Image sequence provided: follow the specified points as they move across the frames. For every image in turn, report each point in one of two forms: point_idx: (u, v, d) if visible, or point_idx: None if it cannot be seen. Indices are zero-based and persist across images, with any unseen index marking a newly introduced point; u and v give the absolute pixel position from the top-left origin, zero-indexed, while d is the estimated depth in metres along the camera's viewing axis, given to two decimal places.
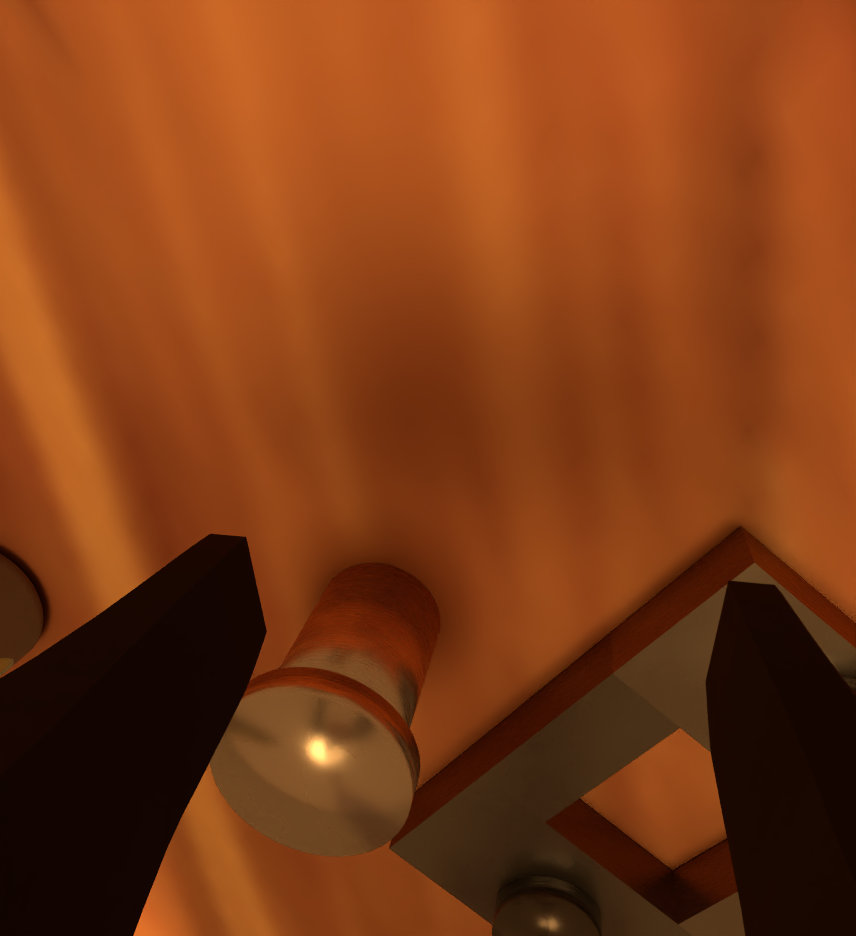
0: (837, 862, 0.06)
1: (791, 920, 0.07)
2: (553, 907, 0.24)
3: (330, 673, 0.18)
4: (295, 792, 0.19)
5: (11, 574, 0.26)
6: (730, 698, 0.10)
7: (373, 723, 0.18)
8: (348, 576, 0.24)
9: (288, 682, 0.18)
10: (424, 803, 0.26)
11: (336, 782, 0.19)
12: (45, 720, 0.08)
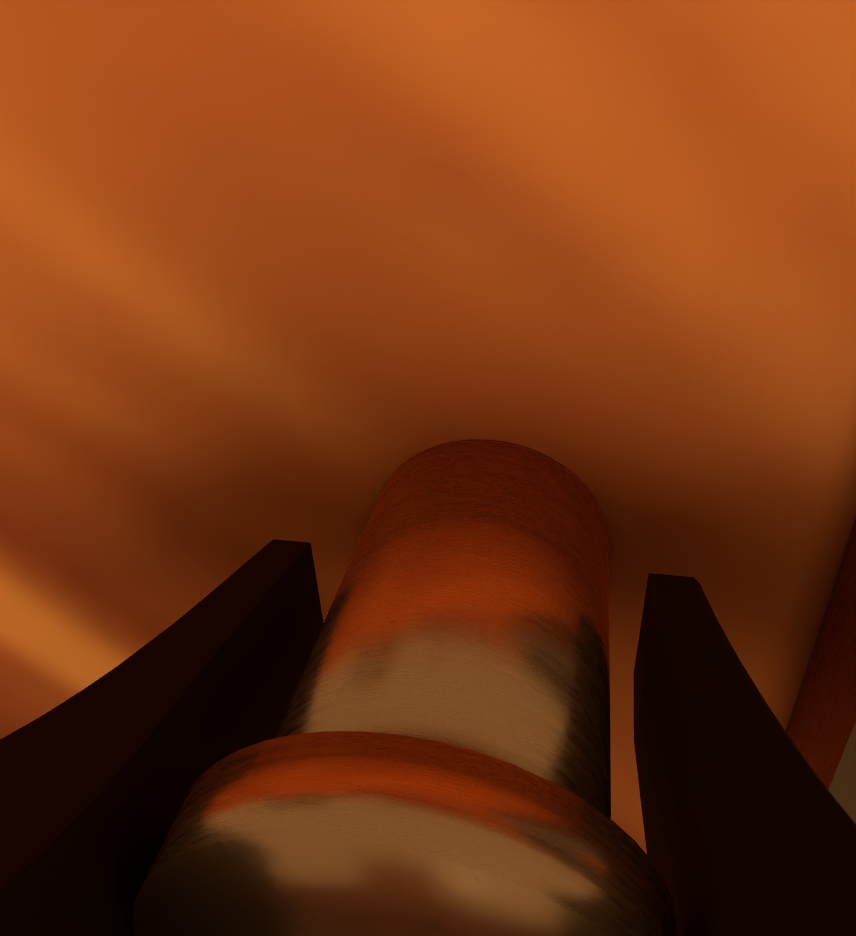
0: (706, 842, 0.07)
1: (679, 901, 0.08)
2: None
3: (266, 746, 0.07)
4: None
5: None
6: (646, 688, 0.10)
7: (393, 832, 0.06)
8: (372, 510, 0.12)
9: (183, 822, 0.07)
10: None
11: None
12: (135, 733, 0.08)
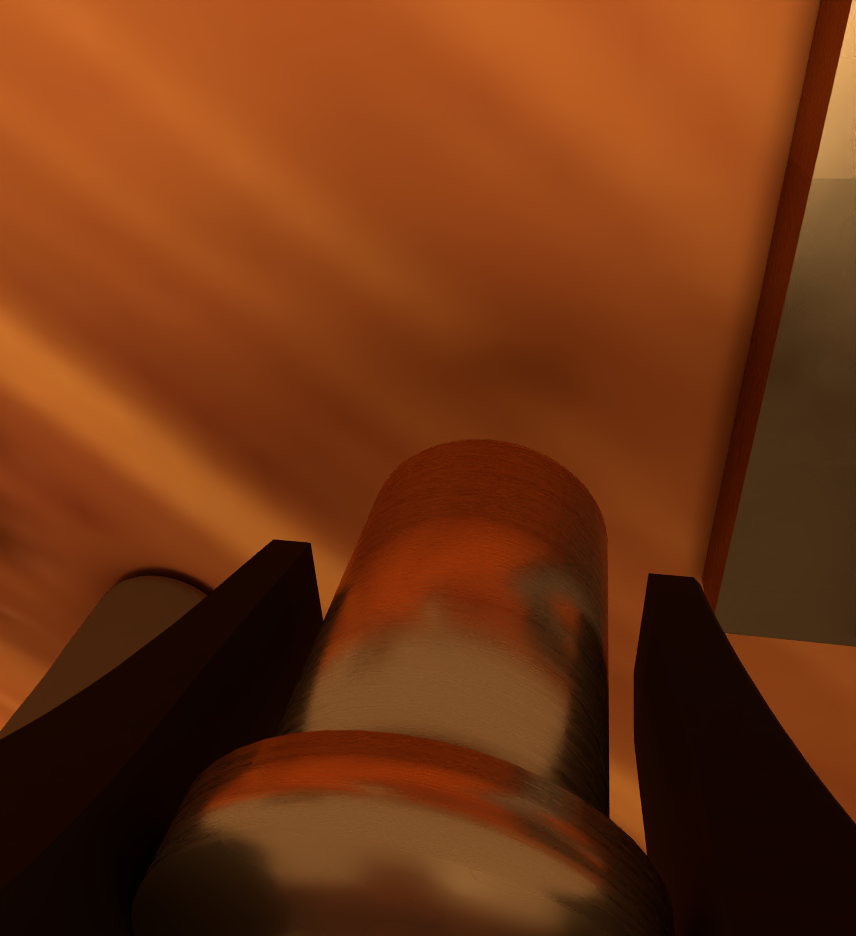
0: (706, 842, 0.07)
1: (679, 901, 0.08)
2: None
3: (264, 745, 0.07)
4: None
5: (163, 585, 0.24)
6: (646, 688, 0.10)
7: (391, 831, 0.06)
8: (371, 510, 0.12)
9: (182, 822, 0.07)
10: (717, 555, 0.19)
11: None
12: (136, 733, 0.08)
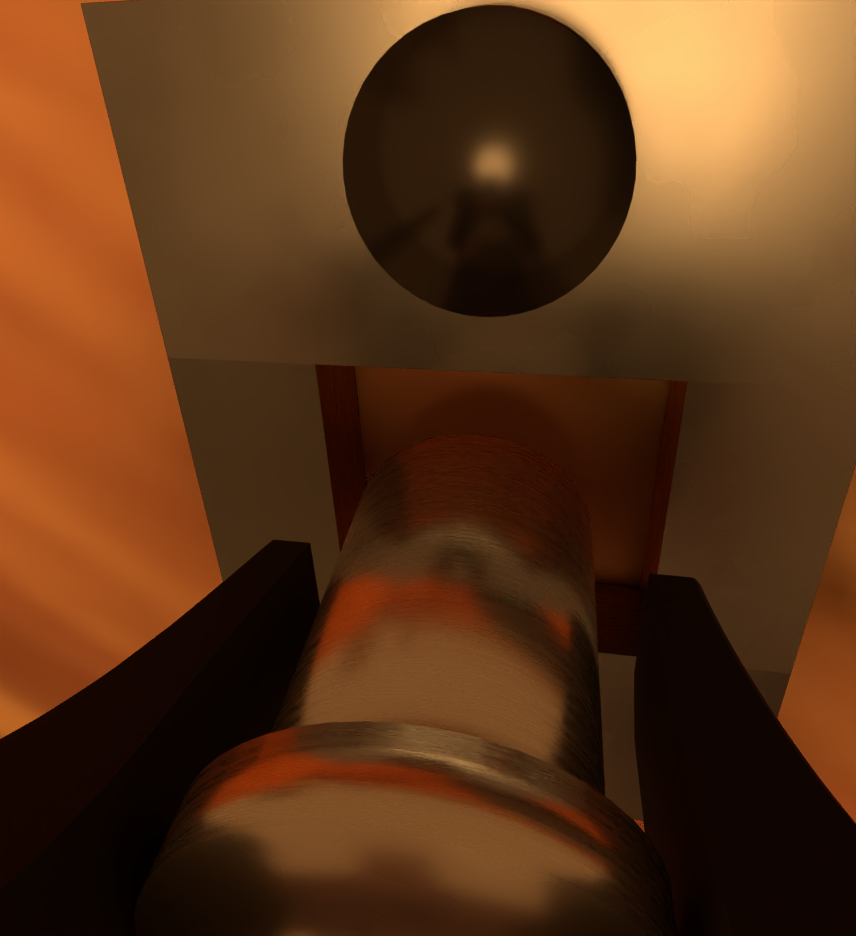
0: (707, 842, 0.07)
1: (680, 902, 0.08)
2: None
3: (268, 739, 0.07)
4: None
5: None
6: (647, 688, 0.10)
7: (403, 819, 0.06)
8: (358, 506, 0.12)
9: (187, 818, 0.07)
10: None
11: None
12: (136, 733, 0.08)
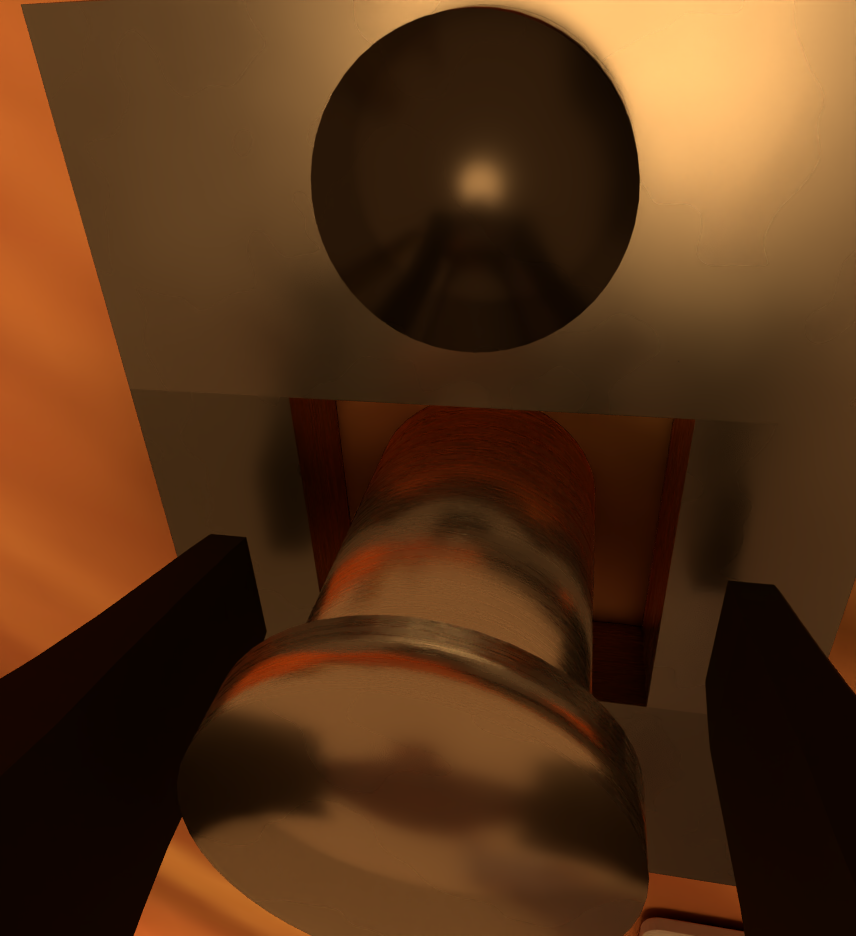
0: (836, 862, 0.06)
1: (790, 920, 0.07)
2: None
3: (295, 630, 0.08)
4: (406, 886, 0.09)
5: None
6: (729, 698, 0.10)
7: (406, 687, 0.07)
8: (380, 460, 0.13)
9: (224, 695, 0.08)
10: None
11: (450, 837, 0.08)
12: (45, 720, 0.08)
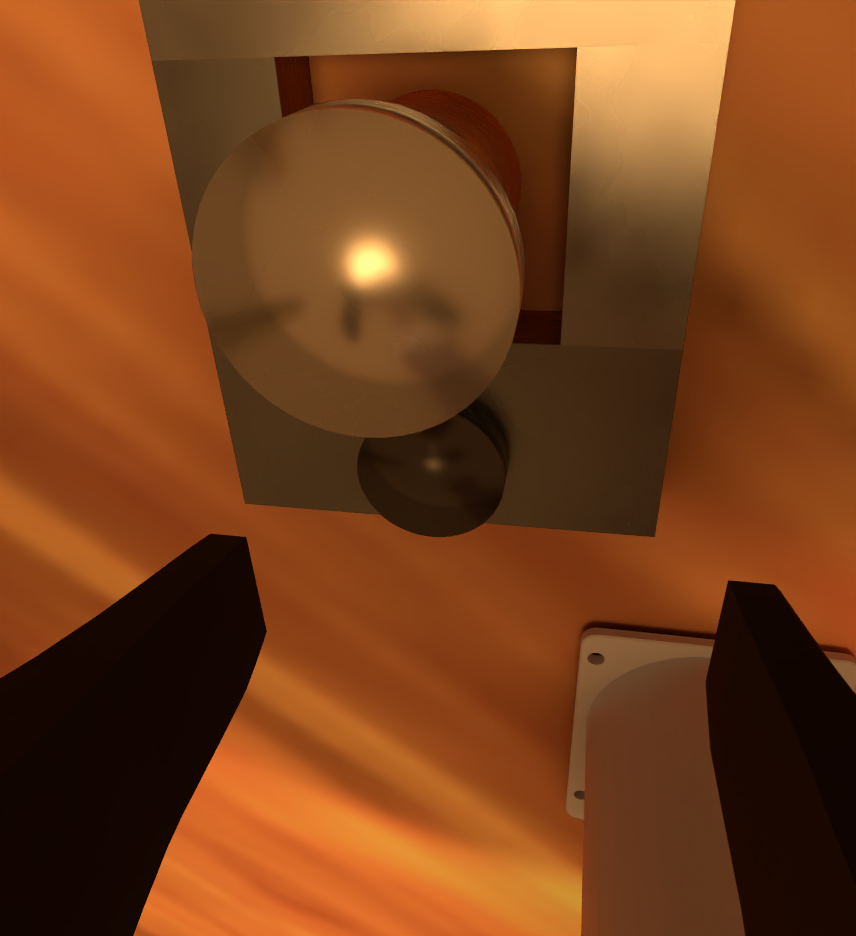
0: (837, 862, 0.06)
1: (791, 920, 0.07)
2: None
3: None
4: (355, 330, 0.12)
5: None
6: (730, 698, 0.10)
7: None
8: None
9: None
10: None
11: (383, 263, 0.11)
12: (46, 719, 0.08)
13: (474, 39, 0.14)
